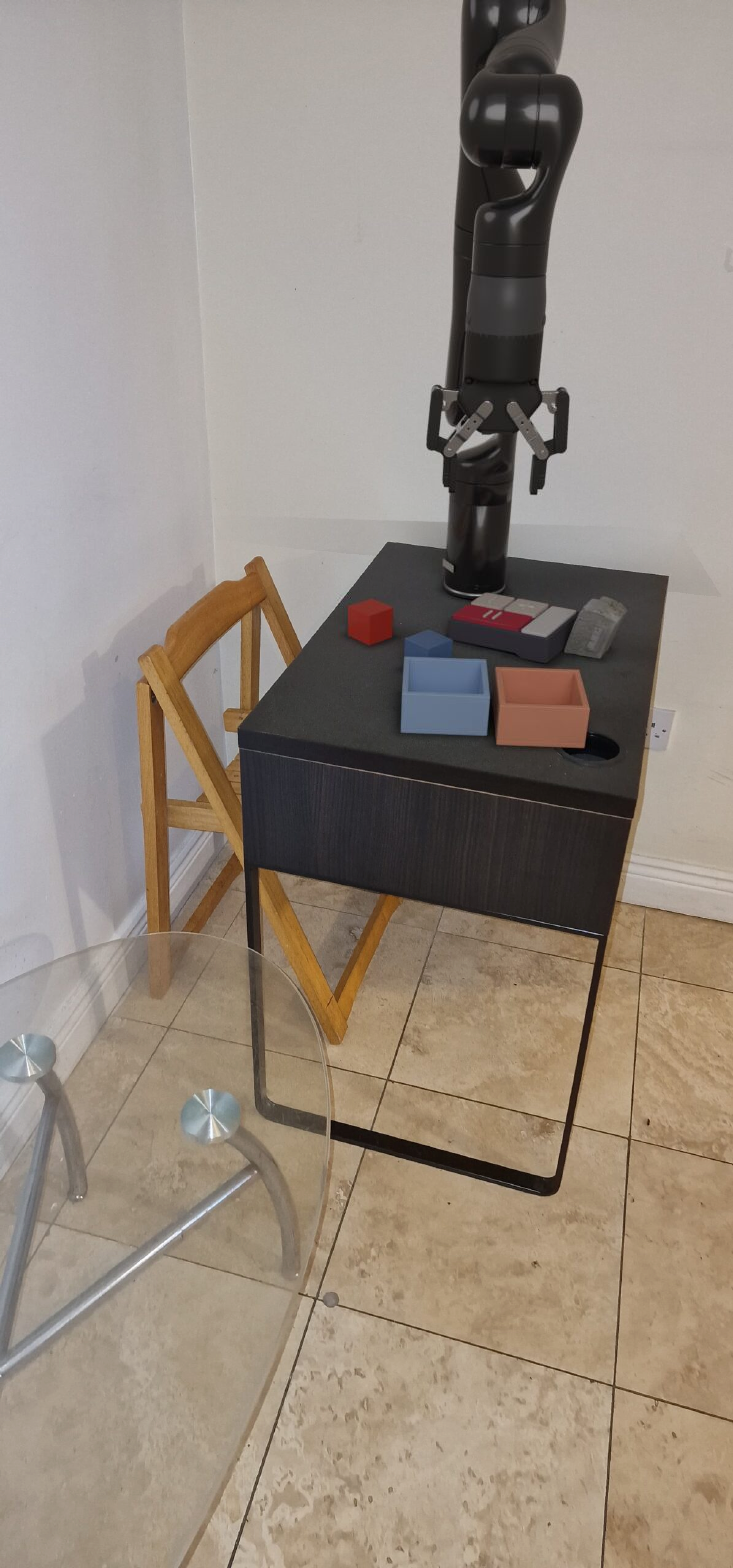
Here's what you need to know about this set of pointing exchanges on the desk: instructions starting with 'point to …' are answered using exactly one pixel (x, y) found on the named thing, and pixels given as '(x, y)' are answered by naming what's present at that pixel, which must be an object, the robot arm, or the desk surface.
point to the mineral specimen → (595, 627)
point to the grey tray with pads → (514, 626)
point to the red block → (370, 621)
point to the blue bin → (445, 696)
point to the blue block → (428, 645)
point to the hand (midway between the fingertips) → (492, 492)
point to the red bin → (540, 707)
